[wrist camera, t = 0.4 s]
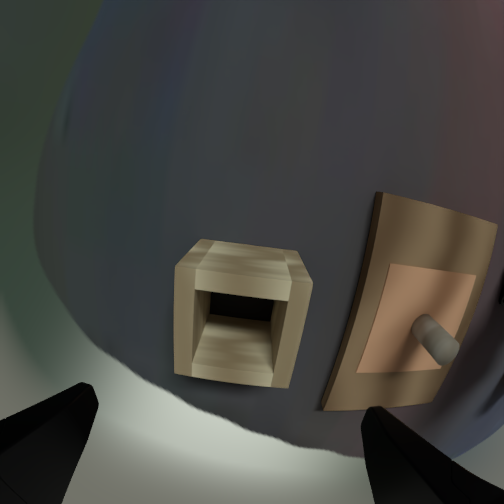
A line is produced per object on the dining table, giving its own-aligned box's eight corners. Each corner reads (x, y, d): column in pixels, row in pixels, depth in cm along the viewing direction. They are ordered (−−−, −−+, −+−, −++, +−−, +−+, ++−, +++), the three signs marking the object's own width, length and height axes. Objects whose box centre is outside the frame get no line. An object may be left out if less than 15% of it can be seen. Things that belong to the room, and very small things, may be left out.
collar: (297, 251, 19) (313, 283, 13) (281, 334, 20) (288, 388, 14) (200, 238, 19) (175, 266, 13) (195, 323, 20) (174, 373, 14)
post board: (489, 222, 18) (532, 235, 12) (426, 395, 22) (448, 429, 17) (376, 191, 17) (417, 198, 12) (321, 401, 22) (331, 447, 17)
